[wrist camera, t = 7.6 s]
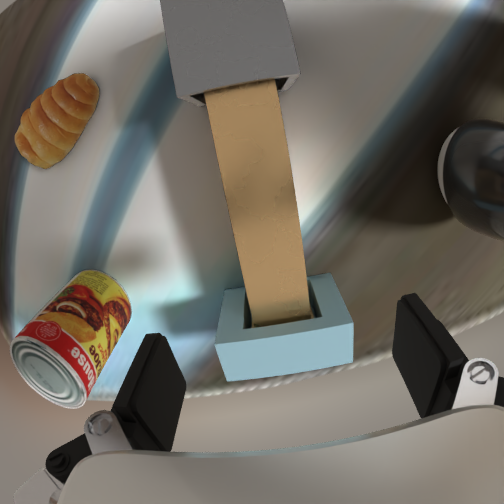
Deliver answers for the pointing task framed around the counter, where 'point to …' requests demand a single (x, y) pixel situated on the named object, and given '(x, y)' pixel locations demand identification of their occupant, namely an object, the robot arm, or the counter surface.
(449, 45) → the counter surface
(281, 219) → the tan wooden plank
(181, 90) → the gray square block
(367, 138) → the counter surface
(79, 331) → the canned food
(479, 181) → the pump dispenser
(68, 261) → the counter surface
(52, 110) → the pastry
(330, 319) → the socket block
